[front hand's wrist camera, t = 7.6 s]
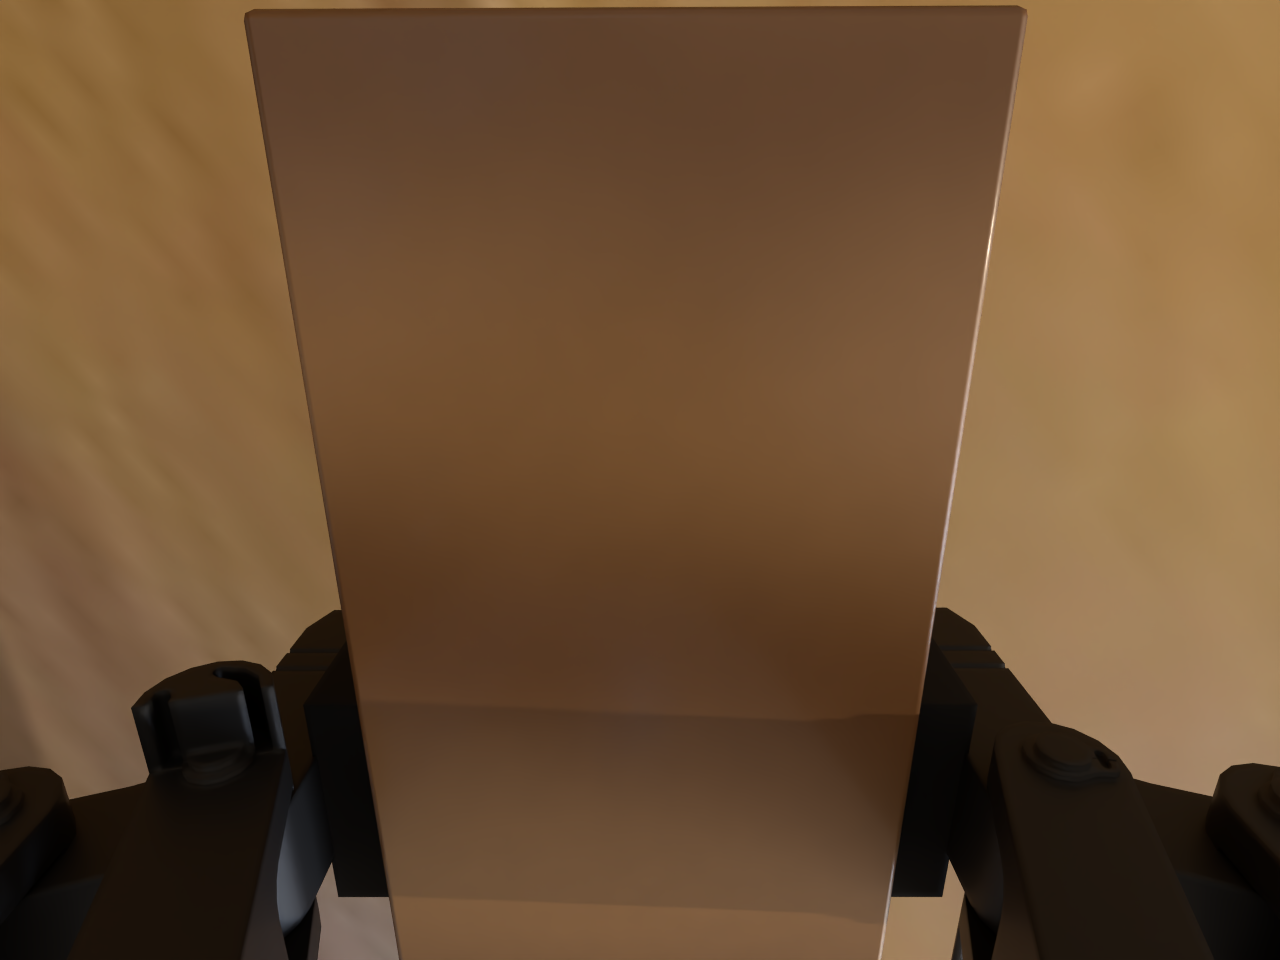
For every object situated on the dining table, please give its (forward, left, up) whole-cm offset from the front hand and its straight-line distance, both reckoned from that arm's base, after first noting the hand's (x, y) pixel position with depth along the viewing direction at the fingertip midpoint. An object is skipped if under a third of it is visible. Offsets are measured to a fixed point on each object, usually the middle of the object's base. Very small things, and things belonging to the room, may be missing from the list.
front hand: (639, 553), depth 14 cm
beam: (+8, -24, -1) cm, 26 cm away
